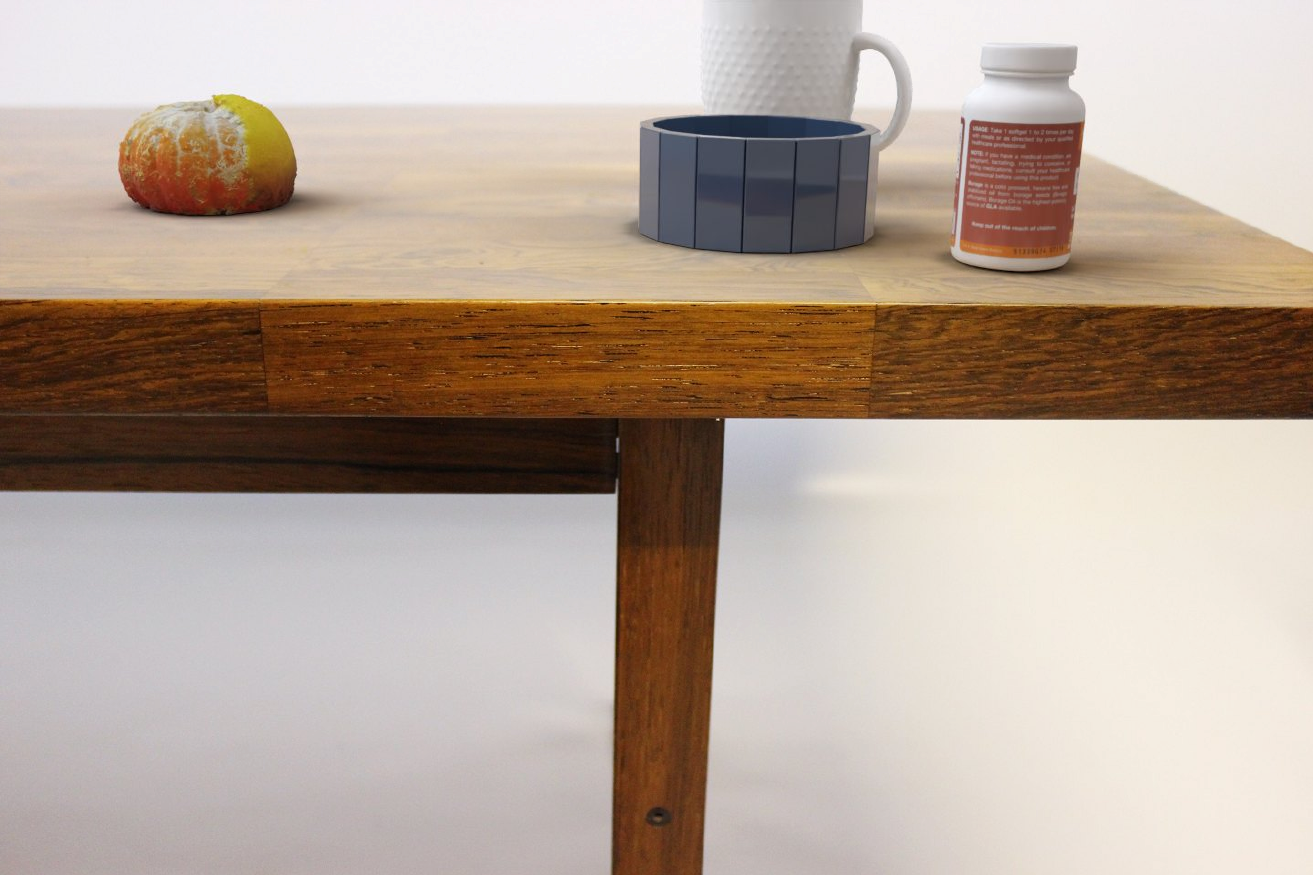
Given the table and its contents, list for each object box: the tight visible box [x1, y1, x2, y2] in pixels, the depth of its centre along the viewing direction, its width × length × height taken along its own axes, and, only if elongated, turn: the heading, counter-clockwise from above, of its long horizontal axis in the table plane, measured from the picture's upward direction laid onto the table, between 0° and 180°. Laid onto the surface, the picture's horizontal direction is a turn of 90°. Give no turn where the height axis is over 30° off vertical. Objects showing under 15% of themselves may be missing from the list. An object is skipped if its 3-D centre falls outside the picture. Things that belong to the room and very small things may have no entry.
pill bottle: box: [950, 42, 1087, 272], centre depth 70 cm, size 6×6×11 cm
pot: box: [637, 113, 882, 254], centre depth 78 cm, size 14×14×6 cm
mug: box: [700, 0, 913, 153], centre depth 94 cm, size 15×11×13 cm
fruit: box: [117, 93, 298, 216], centre depth 84 cm, size 11×10×8 cm
